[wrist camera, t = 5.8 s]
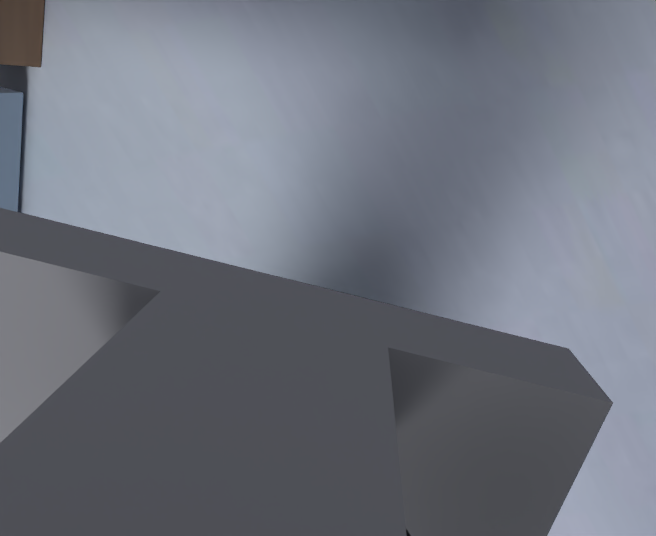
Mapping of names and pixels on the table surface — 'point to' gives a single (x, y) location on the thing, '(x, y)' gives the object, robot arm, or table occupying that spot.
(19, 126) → the door leaf
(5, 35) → the wooden blocks
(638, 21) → the table surface
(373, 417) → the gray t-shaped pedestal
